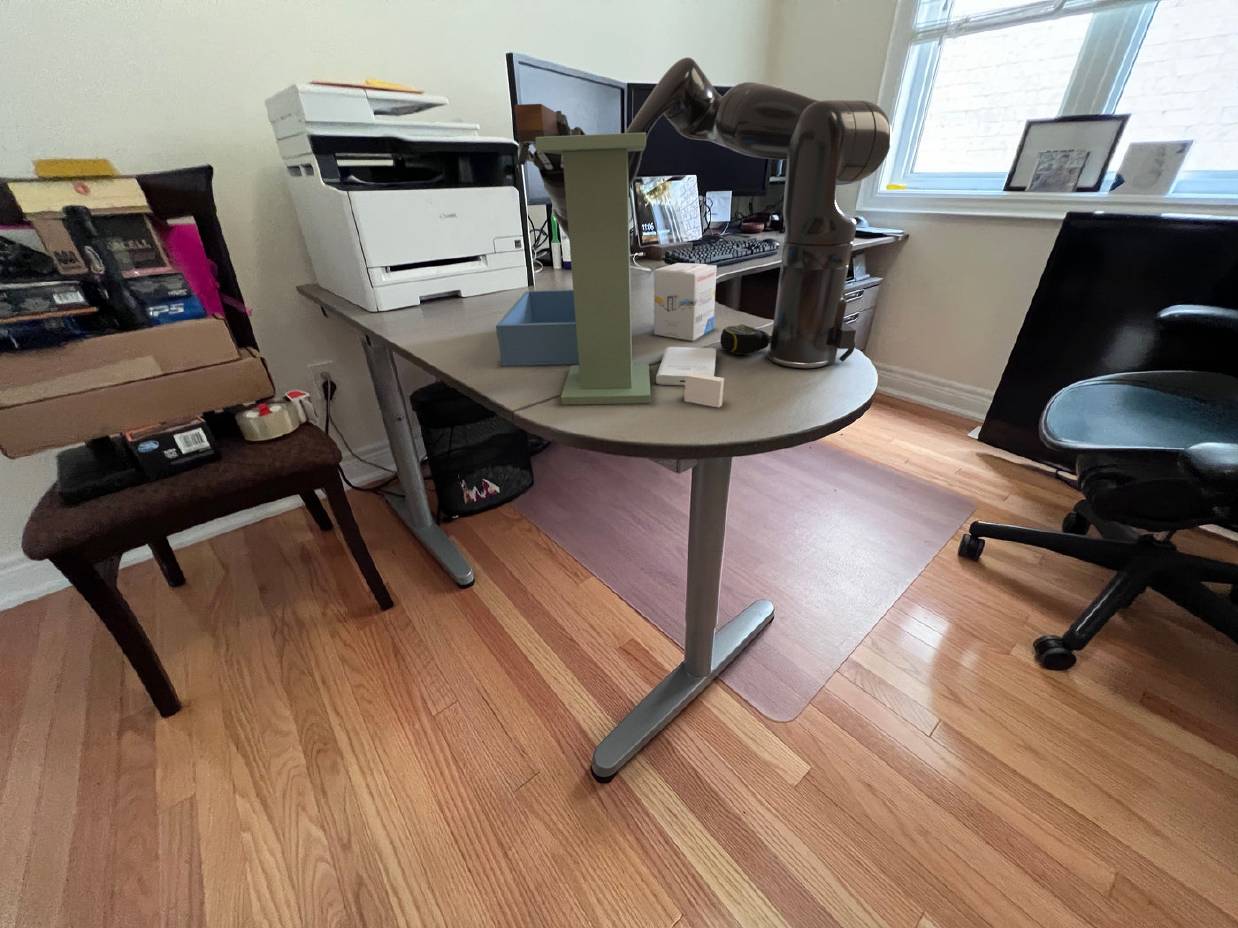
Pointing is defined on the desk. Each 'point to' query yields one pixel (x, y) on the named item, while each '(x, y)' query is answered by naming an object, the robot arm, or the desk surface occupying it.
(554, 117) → the block
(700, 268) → the ink box
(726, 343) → the tape measure
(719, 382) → the eraser
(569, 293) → the tray
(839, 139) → the robot arm
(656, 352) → the desk surface
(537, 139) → the stand
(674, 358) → the hard drive
